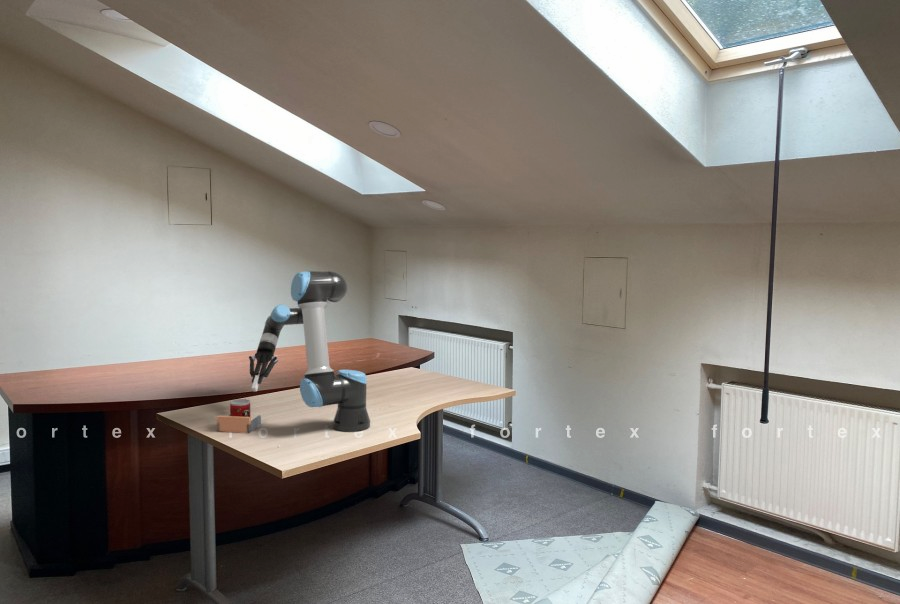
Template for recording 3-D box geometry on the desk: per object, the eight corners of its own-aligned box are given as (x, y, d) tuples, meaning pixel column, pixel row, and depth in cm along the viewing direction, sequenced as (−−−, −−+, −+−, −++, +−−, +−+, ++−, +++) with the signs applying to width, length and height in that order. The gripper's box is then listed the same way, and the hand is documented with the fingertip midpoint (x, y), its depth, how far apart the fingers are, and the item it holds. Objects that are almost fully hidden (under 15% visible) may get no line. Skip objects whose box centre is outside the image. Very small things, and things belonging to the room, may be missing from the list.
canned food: (237, 432, 243) (237, 405, 242) (226, 428, 247) (225, 401, 246) (254, 428, 249) (254, 401, 248) (242, 424, 254) (242, 397, 252)
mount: (261, 423, 255) (260, 409, 254) (249, 432, 242) (249, 418, 242) (230, 422, 255) (230, 408, 255) (217, 431, 243) (216, 416, 242)
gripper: (283, 350, 282) (271, 394, 267) (255, 350, 283) (241, 394, 267) (279, 340, 276) (266, 385, 261) (251, 340, 277) (236, 384, 262)
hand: (254, 389), depth 264 cm, fingers closed
